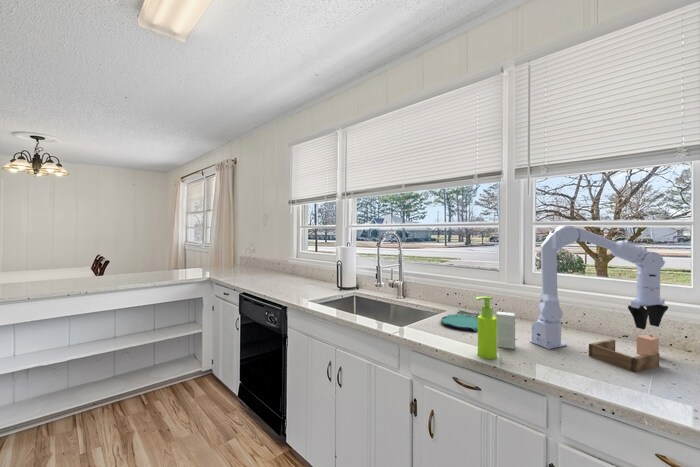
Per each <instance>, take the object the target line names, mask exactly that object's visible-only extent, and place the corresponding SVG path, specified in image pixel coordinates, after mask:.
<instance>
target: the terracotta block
mask: <svg viewBox="0 0 700 467" xmlns="http://www.w3.org/2000/svg"><path fill="white" fill-rule="evenodd" d="M659 345H660V339H659V337H654V336H651V335H648V334H647V335H646V334H640V335H637V336H636V354H637V355H639V356H641V355H645V354H650V353H654V352H657V353H659V352H660V350H659V349H660V347H659ZM659 354H660V353H659Z"/></svg>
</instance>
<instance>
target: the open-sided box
mask: <svg viewBox="0 0 700 467" xmlns="http://www.w3.org/2000/svg"><path fill="white" fill-rule="evenodd" d="M588 356H589V357H590V358H594V359H597V360H600V361H602V362H606V363H608V364H610V365H614V366H616V367H619V368H621V369H624V370H627V371H630V372H633V373H637V372H641V371H642V372H643V371H646V370H649V369H654V368H657V367H660V353H657V352H654V353H650V354H645V355H638V356H631V355H627V354H624V353H621V352H619V351H616V339H612V338H611V339H606V340H601V341H597V342H591V343H588Z"/></svg>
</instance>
